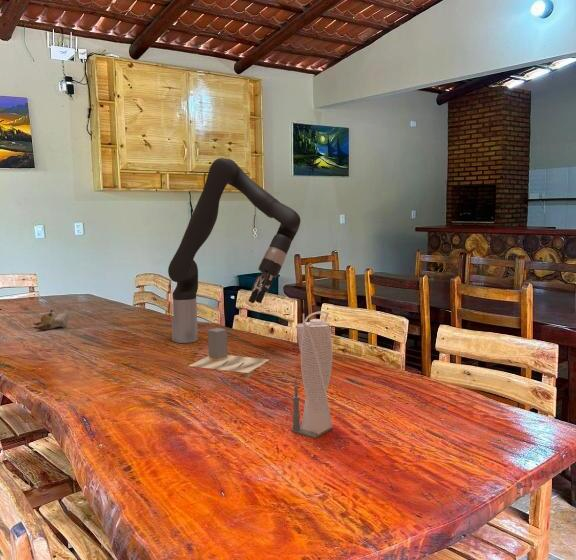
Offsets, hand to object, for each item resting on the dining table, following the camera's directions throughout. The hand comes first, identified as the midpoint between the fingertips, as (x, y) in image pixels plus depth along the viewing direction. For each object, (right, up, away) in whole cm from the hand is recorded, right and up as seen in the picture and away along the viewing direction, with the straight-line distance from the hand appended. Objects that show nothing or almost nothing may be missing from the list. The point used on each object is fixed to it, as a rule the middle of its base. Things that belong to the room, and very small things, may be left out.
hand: (254, 302), depth 193 cm
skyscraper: (+19, -28, -65) cm, 73 cm away
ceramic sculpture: (-94, -14, +49) cm, 107 cm away
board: (-7, -21, -13) cm, 26 cm away
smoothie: (+18, -18, +6) cm, 26 cm away
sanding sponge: (-12, -19, -9) cm, 24 cm away
